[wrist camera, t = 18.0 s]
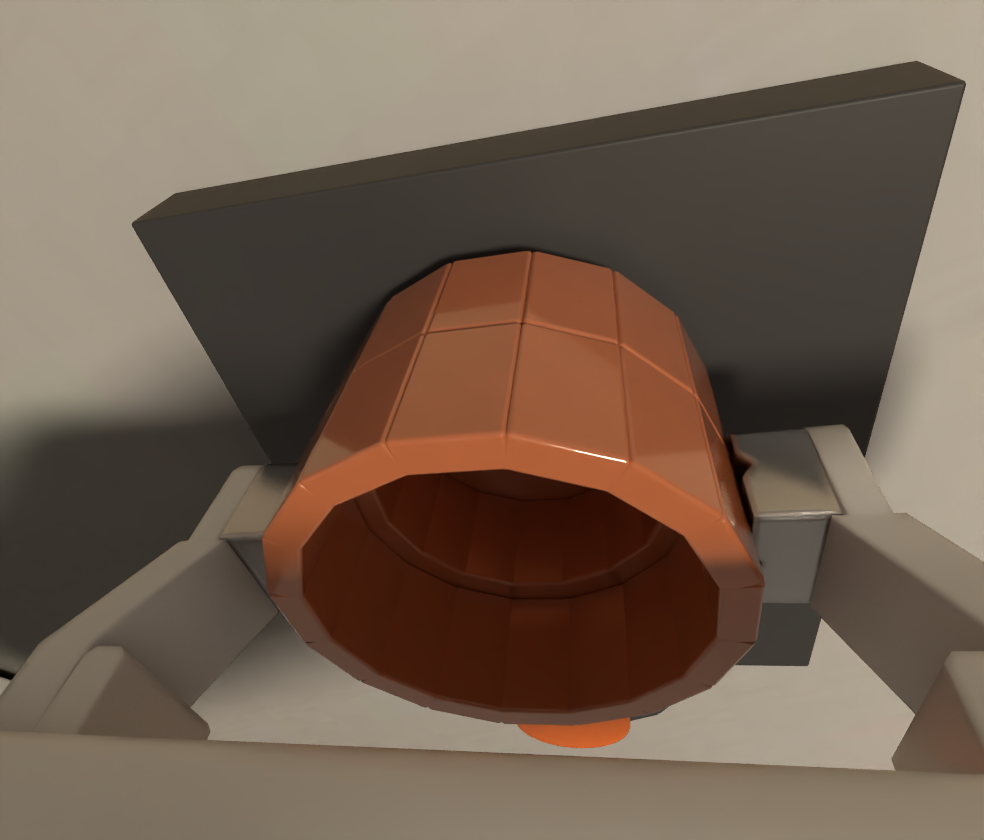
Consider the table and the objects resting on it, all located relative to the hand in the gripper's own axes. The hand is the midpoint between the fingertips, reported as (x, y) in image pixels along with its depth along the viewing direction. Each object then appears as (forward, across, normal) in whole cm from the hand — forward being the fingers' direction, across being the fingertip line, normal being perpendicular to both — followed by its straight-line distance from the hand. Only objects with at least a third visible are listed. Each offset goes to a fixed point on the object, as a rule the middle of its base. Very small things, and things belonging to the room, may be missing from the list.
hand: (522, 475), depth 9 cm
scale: (+4, 0, -3) cm, 4 cm away
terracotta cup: (+2, 0, 0) cm, 2 cm away
